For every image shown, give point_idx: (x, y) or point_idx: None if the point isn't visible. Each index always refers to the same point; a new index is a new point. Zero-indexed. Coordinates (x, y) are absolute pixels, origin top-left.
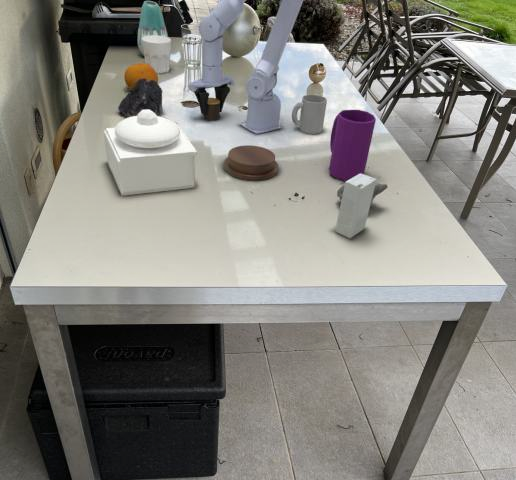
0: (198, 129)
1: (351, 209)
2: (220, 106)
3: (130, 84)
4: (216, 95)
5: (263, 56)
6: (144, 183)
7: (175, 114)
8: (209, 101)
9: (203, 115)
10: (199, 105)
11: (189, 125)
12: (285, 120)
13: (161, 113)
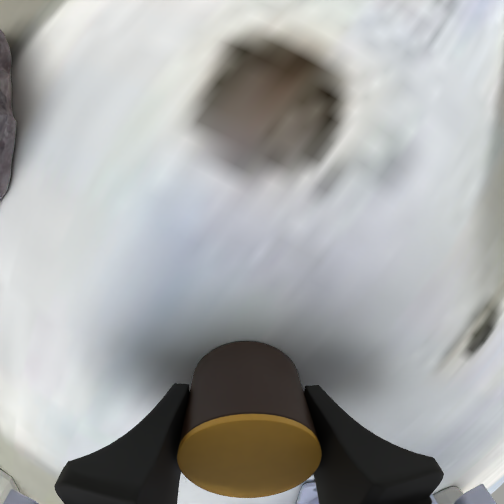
0: (104, 441)
1: None
2: None
3: None
4: (337, 453)
5: None
6: None
7: (64, 228)
8: (219, 471)
9: (192, 380)
10: (152, 412)
11: (79, 396)
12: (456, 460)
13: (1, 196)
